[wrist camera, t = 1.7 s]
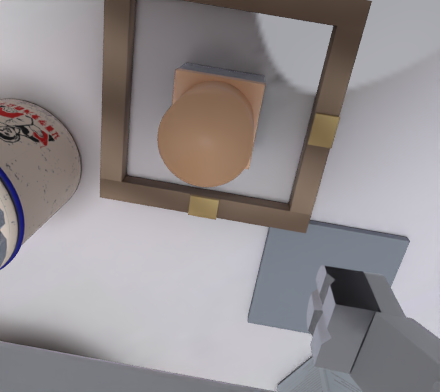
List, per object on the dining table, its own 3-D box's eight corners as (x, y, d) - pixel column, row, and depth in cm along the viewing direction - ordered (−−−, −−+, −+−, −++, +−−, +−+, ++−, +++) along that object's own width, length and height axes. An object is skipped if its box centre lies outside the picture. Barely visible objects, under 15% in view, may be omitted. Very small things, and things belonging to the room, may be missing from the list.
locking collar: (112, -41, 23) (103, -44, 22) (366, 1, 23) (373, 0, 21) (105, 190, 29) (98, 198, 28) (304, 225, 29) (306, 235, 28)
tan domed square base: (178, 67, 22) (157, 80, 18) (264, 82, 22) (267, 99, 18) (168, 161, 25) (148, 193, 20) (246, 175, 24) (244, 210, 20)
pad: (272, 213, 29) (272, 217, 28) (406, 237, 29) (409, 241, 28) (247, 317, 33) (247, 322, 32) (365, 338, 33) (367, 343, 32)
